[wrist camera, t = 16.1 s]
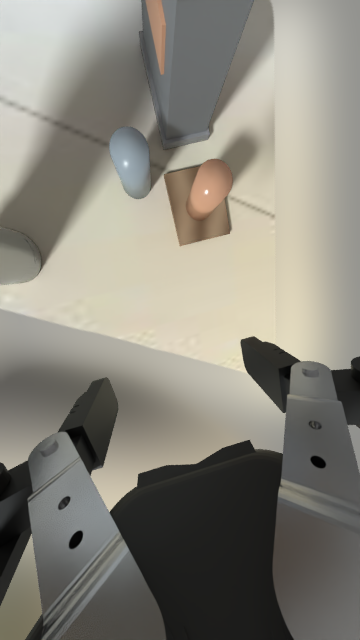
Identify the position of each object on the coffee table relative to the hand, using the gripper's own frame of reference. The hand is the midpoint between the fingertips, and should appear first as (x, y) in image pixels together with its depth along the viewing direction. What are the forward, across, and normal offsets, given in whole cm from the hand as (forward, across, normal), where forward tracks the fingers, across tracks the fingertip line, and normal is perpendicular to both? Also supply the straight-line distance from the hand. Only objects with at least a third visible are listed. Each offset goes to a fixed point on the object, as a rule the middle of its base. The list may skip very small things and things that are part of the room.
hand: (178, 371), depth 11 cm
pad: (+30, -11, -15) cm, 35 cm away
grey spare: (+30, -1, -21) cm, 37 cm away
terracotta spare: (+29, -11, -15) cm, 34 cm away
